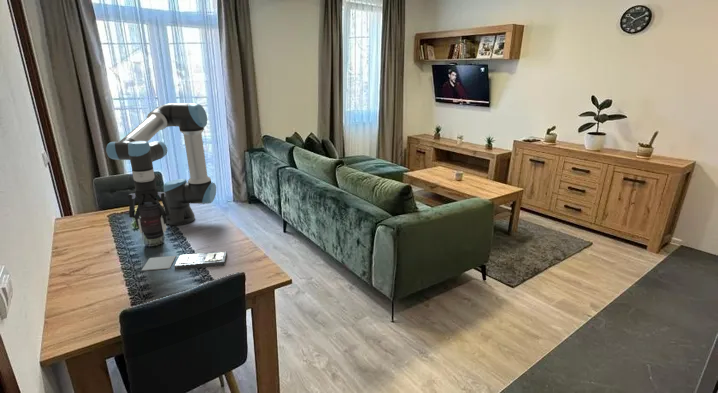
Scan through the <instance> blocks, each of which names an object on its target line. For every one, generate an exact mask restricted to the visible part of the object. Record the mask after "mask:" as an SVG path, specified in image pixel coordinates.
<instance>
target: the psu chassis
mask: <svg viewBox="0 0 718 393" xmlns="http://www.w3.org/2000/svg"><path fill="white" fill-rule="evenodd" d="M227 257H228V252H227V251H226V250H225V251H215V252H214V251H212V252H211V251H210V252H200V253H188V254H187V253H186V254H179V256H178V258H177V260H176V262H175V264H174V267H173V268H174V271H176V270H177V271H179V270H180V271H181V270H190V268H192V269H199V268H200V267H204V268H212V267H216V268H217V267H224V266H225V265H226V260H227ZM200 269H201V268H200Z"/></svg>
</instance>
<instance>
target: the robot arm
mask: <svg viewBox="0 0 718 393" xmlns="http://www.w3.org/2000/svg"><path fill="white" fill-rule="evenodd" d="M207 125H208V116H207V112H206V110H205V108H204V107H203V106H202V105H201V104H199V103H194V102H193V103H192V102H178V103H177V102H169V103H165V104H162V105H159V106H157V107H156V108H154V109H153V110H151V111H150V112H149V113H147V116H146V118H145V119H144V120H143V121H142V122H141V123H139V124H138V125H137V126H136V127H135V128H133V129H132V130H131V131H130V132H128V134H126V135H125V136H124V137H123V138H122V139H120V140H119V141H110V142H109V143H107V145H106V147H105V151H106V154H107V157H108V158H109V159H112V160H116V161H117V160H118V161H130V166H131V172H132V179H133V181H134V182H133V183H134V184H133V185H134V188H135V193H133V192H132V193H129V194H128V195H127V197H128V200H129V202H128V204H129V205H128V206H129V208H128V209H129V211H128V212H129V213H128V216H129V218H133V219H134V220H135V225H136V226H138V229H139V233H140V234H144V232H143V229H142V224H141V221H140V220H141V217H140V214H139V205H142V204H143V203H144V202H152V203H153V204H158V203H159V202H160V201H159V199H158V198H157V197H158V196H159V198H160V199H161V203H162V204H161V203H160V206H159V205H158V206H159V211H160V214H161V215H162V216H161V223H162V229H163V233H165V232H166V231H167V225H168V224H169V226H181V225H187V224H189V223H192V222H194V220H195V219H196V217H195V212H193V209H192V208H191V205H192V204H198V205H199V204H200V205H206V204H207V205H208V204H212V203H213V202H214V200H215V198H216V195H217V185H216V183H215V182H212V179H211V178H212V177H210V176H208V172H207V164H206V156H205V149H204V142H203V135H202V133H203V132H204V131H205V127H206V126H207ZM168 127H179V131H180V132H181V133H182V134H183V140H184V145H185V153H186V157H187V164H188V172H189V179H188V180H187V179H186V178H177V179H176V178H175V179H172V180H170V181H167V182H165V183H164V184H163V191H158V189H157V183H156V179H155V172H154V166H153V165H154V164H153V162H155V161H158V160H161V159H163V158H164V157H166V155H167V154H168V147H167V144H165V143H164V142H163V141H162V140H161V141H160V140H154V141H153V140H152V141H151V142H150V140H151V139H152V138H153V137H154V136H155V135H156V134H158V133H159V132H160V131H163V130H165V129H166V128H168ZM136 197H137V199H138V200H139V201H138V202H137V203H138V205H137V208H136V210H135V206H136Z"/></svg>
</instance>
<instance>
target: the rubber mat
mask: <svg viewBox="0 0 718 393" xmlns="http://www.w3.org/2000/svg"><path fill="white" fill-rule="evenodd" d="M176 258H177V256H176V255H171V256H170V255H169V256H157V257H156V256H155V257H149V258H148V260H147V261H146V263H145V264H144V266H143V267H142V269H141V272H146V271H158V270H169V269H171V267H172V265H173V263H174V262H175V260H176Z"/></svg>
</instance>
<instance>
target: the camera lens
mask: <svg viewBox="0 0 718 393" xmlns="http://www.w3.org/2000/svg"><path fill="white" fill-rule="evenodd" d="M160 204H161V203H160V201H159V203H158V204H153V203H152V202H144V203H143V204H142V205H139V214H140V216H139V217H141V220H140V221H141V224H142V229H143V235H144V236H145V239H147V240H156V239H159V238H161V237H163V236H164V232H163V229H162V223H161V216H162V215H161V214H160V211H159V206H160ZM158 205H159V206H158Z"/></svg>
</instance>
